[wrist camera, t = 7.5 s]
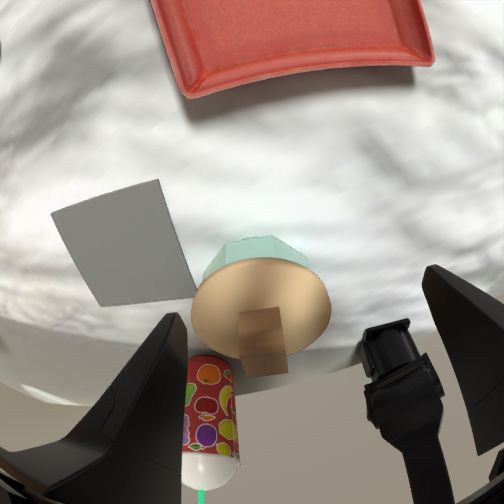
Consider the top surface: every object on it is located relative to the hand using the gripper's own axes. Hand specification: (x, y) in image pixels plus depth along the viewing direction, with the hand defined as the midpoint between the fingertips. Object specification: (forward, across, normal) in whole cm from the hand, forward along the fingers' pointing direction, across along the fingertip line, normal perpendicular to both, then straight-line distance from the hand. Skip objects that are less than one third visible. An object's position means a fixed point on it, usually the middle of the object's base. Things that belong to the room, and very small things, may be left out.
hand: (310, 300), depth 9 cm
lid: (+9, +3, +10) cm, 13 cm away
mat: (+13, +15, +4) cm, 20 cm away
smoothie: (+13, +12, +24) cm, 30 cm away
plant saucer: (+14, -4, -16) cm, 22 cm away
